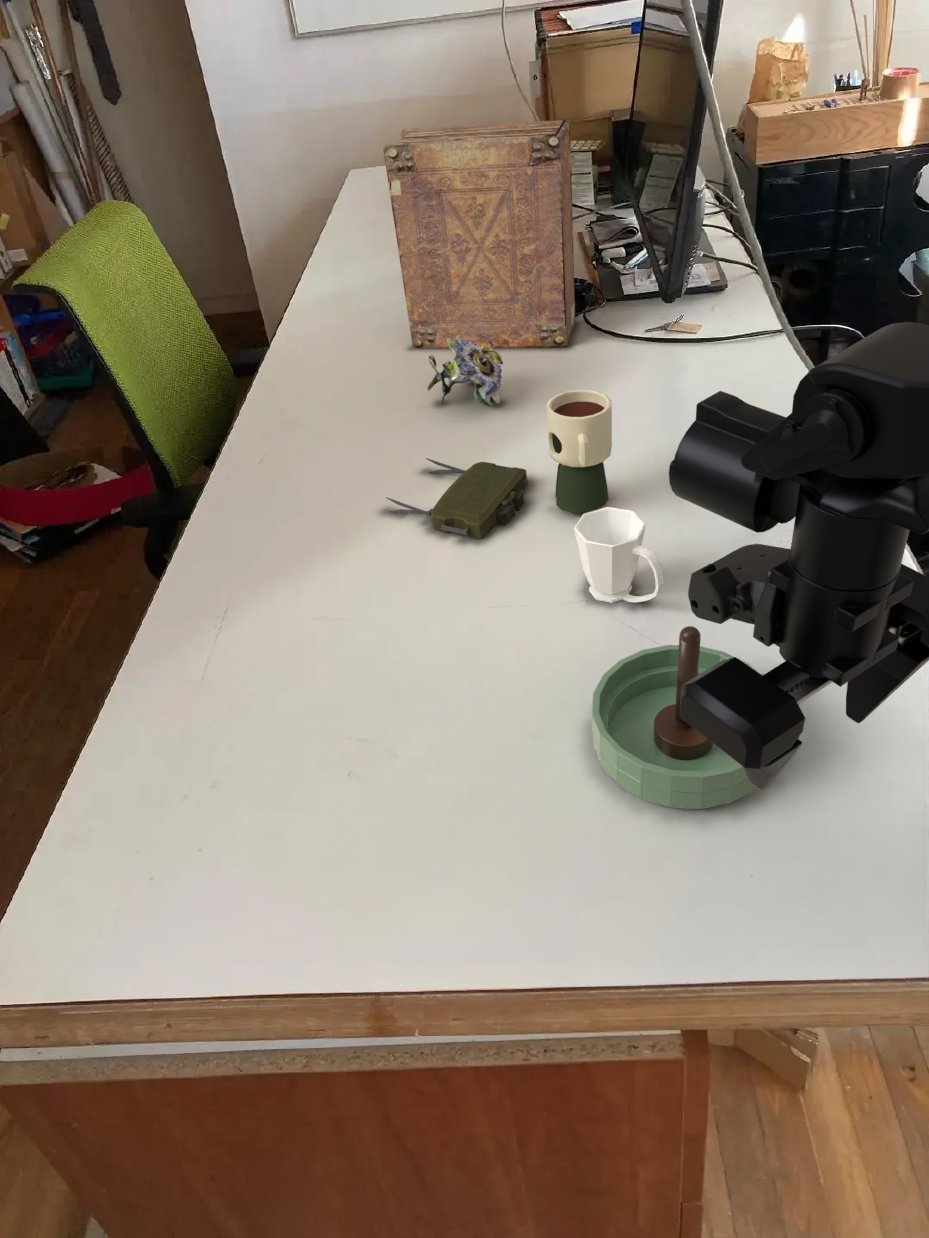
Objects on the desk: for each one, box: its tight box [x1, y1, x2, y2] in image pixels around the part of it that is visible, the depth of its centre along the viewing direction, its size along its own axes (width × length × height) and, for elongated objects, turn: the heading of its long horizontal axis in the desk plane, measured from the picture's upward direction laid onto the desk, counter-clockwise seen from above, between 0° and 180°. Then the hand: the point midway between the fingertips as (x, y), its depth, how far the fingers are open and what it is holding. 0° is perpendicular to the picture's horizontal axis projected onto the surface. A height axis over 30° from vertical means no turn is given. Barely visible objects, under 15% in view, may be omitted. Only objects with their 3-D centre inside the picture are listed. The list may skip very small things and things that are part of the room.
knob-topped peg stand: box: [654, 625, 713, 760], centre depth 75 cm, size 5×5×12 cm
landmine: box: [385, 457, 529, 540], centre depth 112 cm, size 14×3×15 cm
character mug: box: [546, 388, 613, 514], centre depth 106 cm, size 11×7×13 cm, turn 0°
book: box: [383, 118, 576, 349], centre depth 141 cm, size 25×9×30 cm, turn 77°
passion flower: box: [427, 335, 504, 408], centre depth 131 cm, size 11×11×12 cm
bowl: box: [591, 644, 761, 810], centre depth 78 cm, size 15×15×4 cm
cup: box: [573, 506, 664, 604], centre depth 93 cm, size 7×10×8 cm
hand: (806, 750), depth 61 cm, fingers open, 9 cm apart
